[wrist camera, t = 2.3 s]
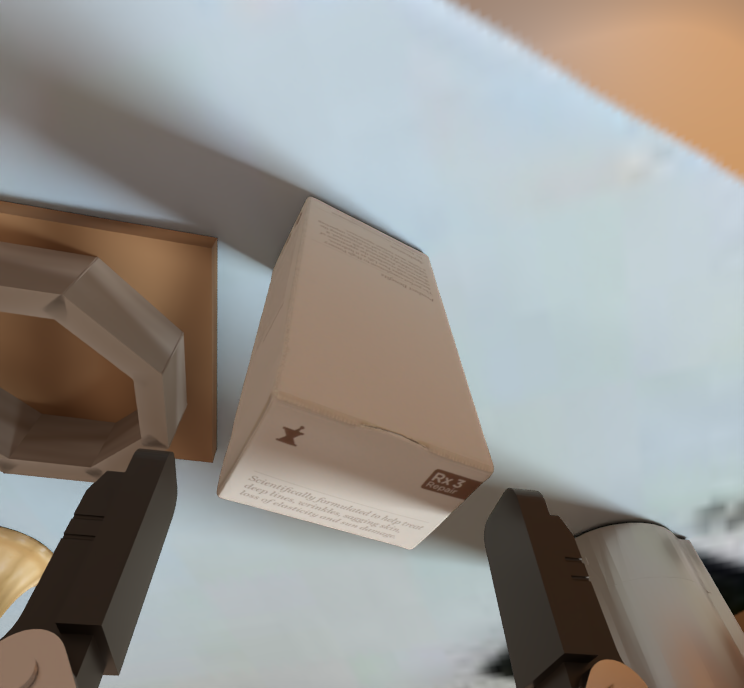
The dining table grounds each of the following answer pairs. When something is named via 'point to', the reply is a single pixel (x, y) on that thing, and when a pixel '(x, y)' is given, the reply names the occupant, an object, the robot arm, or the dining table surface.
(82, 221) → the collar dock
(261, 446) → the skincare box
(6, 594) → the hand bell
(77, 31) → the dining table surface
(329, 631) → the dining table surface
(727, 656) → the robot arm
